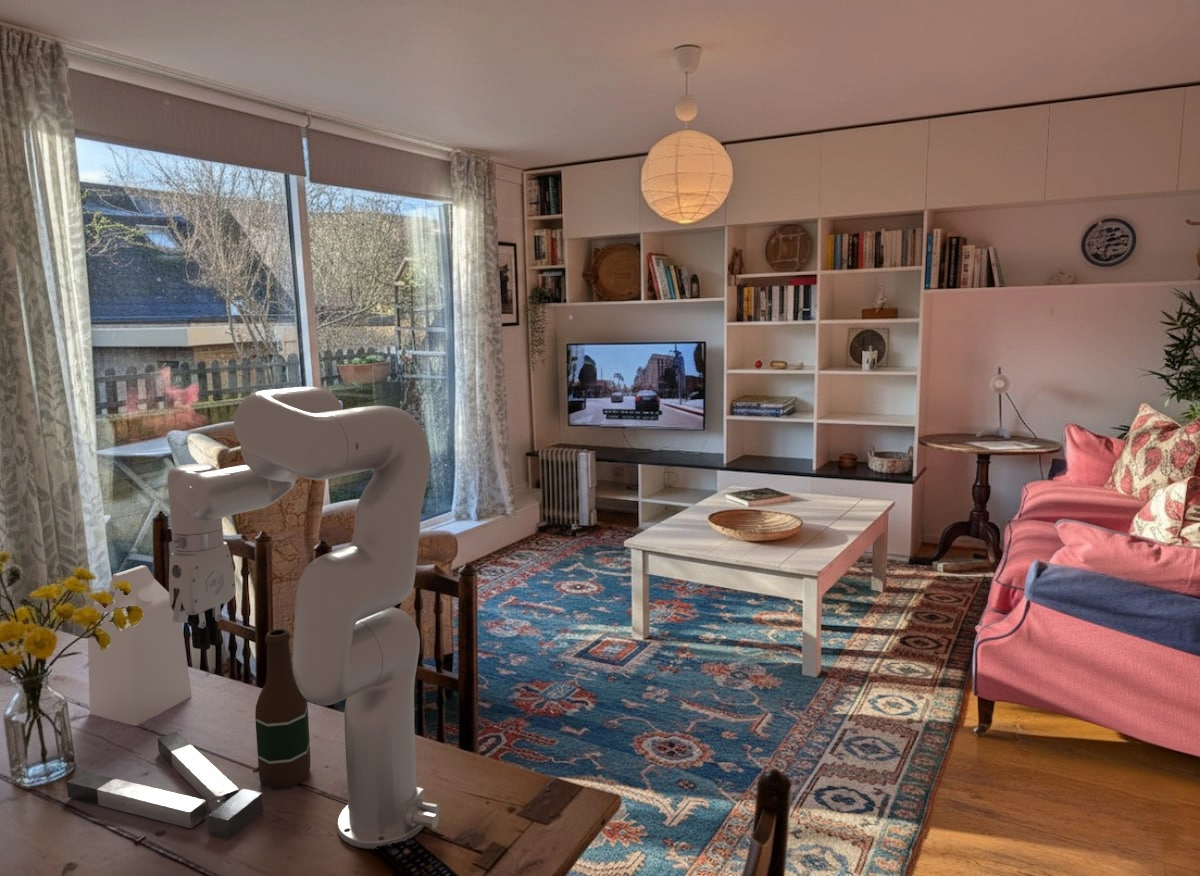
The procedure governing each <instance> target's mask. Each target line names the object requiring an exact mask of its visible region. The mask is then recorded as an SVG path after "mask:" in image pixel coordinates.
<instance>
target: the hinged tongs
mask: <svg viewBox="0 0 1200 876" xmlns="http://www.w3.org/2000/svg"><path fill="white" fill-rule="evenodd" d="M66 790H67V798H69V799H73V800H77V801H82V802H86V803H90V804H92V805H93V804H94V805H97V806H102V807H105V808H109V809H112V810H116V811H117V810H118V811H120V812H125V813H128V814H133V815H137V816H140V817H144V818H149V819H153V820H157V821H159V822H164V823H168V824H171V825H175V826H176V825H177V826H180V827H184V828H188V829H192V828H194V827H196V825H198V824H200V822H201V821H203V820H204V819H206V818H207V819H208V820H207V821H208V834H209V836H212V837H216V838H219V839H223V840H227V841H230V840H231V839H233V838H234V837H235V836H236V835H238V833H239V832H240V831H242V830H243V829H244V828H246V827H247V826H248V825H249V824H251V823H252V822H253V821H254V820H256V819H257V818H258V817H259V816H261V815H262V814H263V813H264V805H263V804H264V801H263V792H260V791H255V790H252V789H251V790H250V789H248V788H247V789H246V788H242V789H241V790H240V791H239V792H238V793H237V794H236V795H234V796H233V797H232V798H230V799H229V800H228V801H226V802H225V803H224V804H222V805H221V806H220V807H218V808H217V809H216V810H214V811H213V812H212V813H211V814H209V813H208V809H207V808H208V804H207V801H206V800H205V799H204V798H202V799H201V798H198V797H193V796H190V795H186V794H181V793H176V792H173V791H168V790H164V789H161V788H155V787H152V786H147V785H144V784H139V783H134V782H130V781H128V780H127V781H126V780H122V779H118V778H115V777H109V776H106V775H100V774H98V773H94V772H93V773H92V772H89V771H83V772H81V773H79V774H78V775H75V776H73V778H71V779H69V780H67V781H66Z"/></svg>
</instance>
